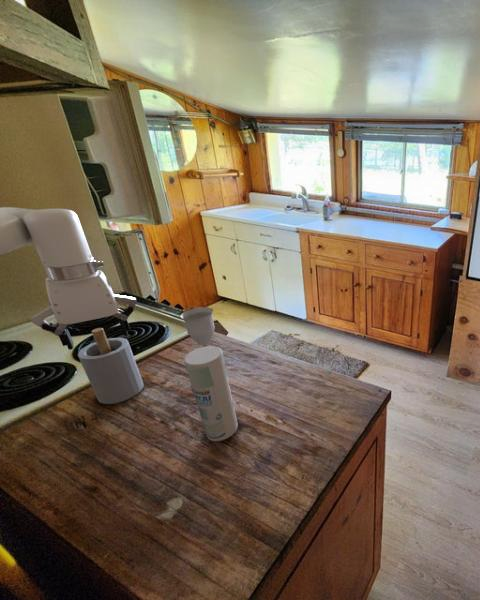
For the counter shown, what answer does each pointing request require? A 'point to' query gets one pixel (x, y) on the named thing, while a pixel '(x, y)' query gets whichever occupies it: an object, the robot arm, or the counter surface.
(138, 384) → the cup
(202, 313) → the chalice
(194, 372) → the spray can
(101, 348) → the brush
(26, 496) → the counter surface
